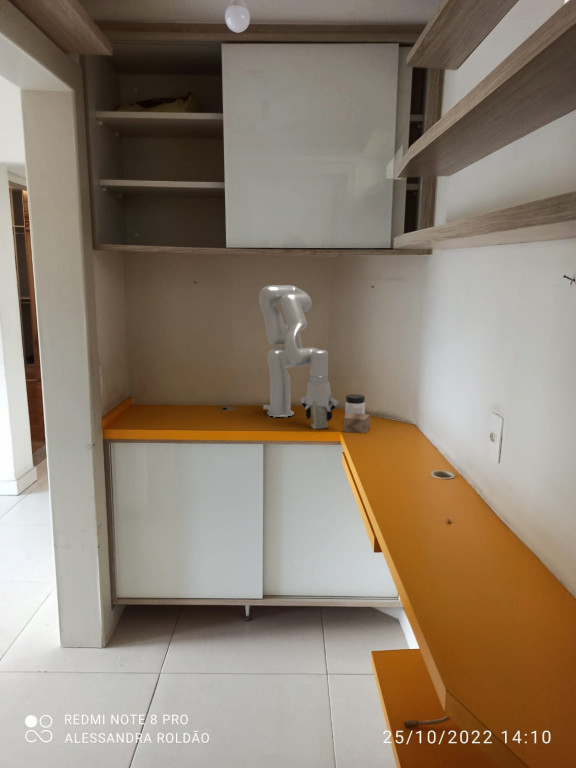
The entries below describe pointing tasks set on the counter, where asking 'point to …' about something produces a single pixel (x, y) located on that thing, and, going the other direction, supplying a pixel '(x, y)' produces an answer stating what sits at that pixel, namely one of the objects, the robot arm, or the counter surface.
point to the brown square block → (356, 423)
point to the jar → (355, 404)
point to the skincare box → (318, 416)
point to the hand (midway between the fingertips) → (318, 419)
